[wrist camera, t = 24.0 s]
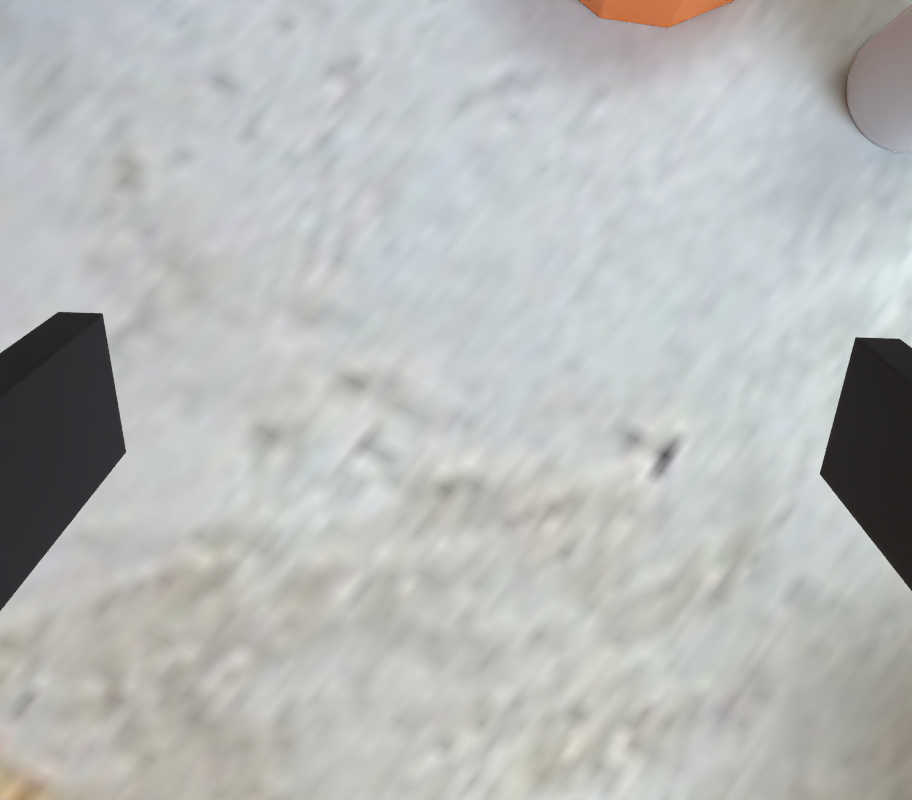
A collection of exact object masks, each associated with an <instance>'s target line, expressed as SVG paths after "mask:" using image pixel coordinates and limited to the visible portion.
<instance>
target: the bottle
mask: <svg viewBox="0 0 912 800" xmlns="http://www.w3.org/2000/svg"><path fill="white" fill-rule="evenodd" d="M846 92H847V103H848V107H849V111H850V114H851V116H852V118H853V121H854V122H855V124H856V125H857V127H858V128H859V130H860V131H861V132H862V133H863V134H864V135H865V137H867V138H868V139H869V140H870V141H872V142H873V143H874V144H876V145H878V146H879V147H881V148H884V149H887V150H890V151H893V152H897V153H912V5H911V6H910V7H909V8H907V9H906V10H905V11H903V12H902V13H901V14H900V15H898V16H897V17H896V18H895V19H893V20H892V21H891V22H890V23H888V24H887V25H886V26H885V27H883V28H882V29H881V30H880V31H878V32H877V33H876V34H874V35H873V36H871V37H870V38H869V40H868V41H867V42H866V43H865V44H864V46H863V47H862V48H861V49H860V51H859V52H858V53H857V55H856V57H855V59H854V61H853V63H852V66H851V68H850V71H849V74H848V80H847V91H846Z"/></svg>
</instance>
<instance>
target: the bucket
mask: <svg viewBox="0 0 912 800" xmlns="http://www.w3.org/2000/svg"><path fill="white" fill-rule="evenodd" d="M579 1H580V2H582V3H583V4H584V5H585V6H586V7H588V8H589V9H590V10H591V11H592V12H594V13H595V14H596V15H597V16H598V17H600V18H605V19H612V20H619V21H625V22H632V23H639V24H646V25H653V26H660V27H670V26H673V25H675V24H678V23H680V22H683V21H685V20H688V19H690V18H693V17H695V16H697V15H700V14H702V13H705V12H707V11H710V10H712V9H715V8H717V7H720V6H722V5H724V4H727V3H729V2H732V1H734V0H579Z"/></svg>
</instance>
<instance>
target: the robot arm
mask: <svg viewBox="0 0 912 800" xmlns="http://www.w3.org/2000/svg"><path fill="white" fill-rule="evenodd" d="M125 453H126V449H125V443H124V437H123V431H122V426H121V420H120V414H119V408H118V402H117V396H116V390H115V384H114V378H113V372H112V367H111V361H110V355H109V349H108V343H107V337H106V331H105V325H104V319H103V314H102V313H71V312H58V313H56V314H55V315H54V316H52V317H51V318H49V319H48V320H47V321H45V322H44V323H42V324H41V325H40V326H38V327H37V328H35V329H34V330H32V331H31V332H30V333H28V334H27V335H25V336H24V337H23V338H21V339H20V340H18V341H17V342H16V343H14V344H13V345H11V346H10V347H9V348H7V349H6V350H4V351H3V352H1V353H0V611H1V609H2V608H3V607H4V606H5V604H6V603H7V602H8V601H9V599H10V598H11V597H12V596H13V594H14V593H15V592H16V590H17V589H18V588H19V587H20V585H21V584H22V583H23V582H24V580H25V579H26V578H27V577H28V575H29V574H30V573H31V572H32V570H33V569H34V568H35V566H36V565H37V564H38V563H39V561H40V560H41V559H42V558H43V556H44V555H45V554H46V553H47V551H48V550H49V549H50V548H51V546H52V545H53V544H54V542H55V541H56V540H57V539H58V537H59V536H60V535H61V534H62V532H63V531H64V530H65V529H66V527H67V526H68V525H69V524H70V522H71V521H72V520H73V518H74V517H75V516H76V515H77V513H78V512H79V511H80V510H81V508H82V507H83V506H84V505H85V503H86V502H87V501H88V500H89V498H90V497H91V496H92V494H93V493H94V492H95V491H96V489H97V488H98V487H99V486H100V484H101V483H102V482H103V481H104V479H105V478H106V477H107V476H108V474H109V473H110V472H111V470H112V469H113V468H114V467H115V465H116V464H117V463H118V462H119V460H120V459H121V458H122V457H123V455H124V454H125ZM820 475H821V476H822V477H823V479H824V480H825V481H826V482H827V484H828V485H829V486H830V488H831V489H832V490H833V491H834V493H835V494H836V495H837V496H838V498H839V499H840V500H841V502H842V503H843V504H844V505H845V507H846V508H847V509H848V510H849V512H850V513H851V514H852V516H853V517H854V518H855V519H856V521H857V522H858V523H859V524H860V526H861V527H862V528H863V530H864V531H865V532H866V533H867V535H868V536H869V537H870V538H871V540H872V541H873V542H874V544H875V545H876V546H877V547H878V549H879V550H880V551H881V552H882V554H883V555H884V556H885V558H886V559H887V560H888V561H889V563H890V564H891V565H892V566H893V568H894V569H895V570H896V572H897V573H898V574H899V575H900V577H901V578H902V579H903V580H904V582H905V583H906V584H907V586H908V587H909V588H910V589H911V591H912V348H911V347H910V346H908V345H907V344H906V343H904V342H903V341H902V340H900V339H886V338H855V342H854V345H853V349H852V353H851V357H850V361H849V365H848V368H847V372H846V376H845V380H844V384H843V387H842V391H841V395H840V399H839V403H838V406H837V410H836V414H835V418H834V422H833V426H832V429H831V433H830V437H829V441H828V445H827V448H826V452H825V456H824V460H823V464H822V467H821V471H820Z"/></svg>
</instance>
